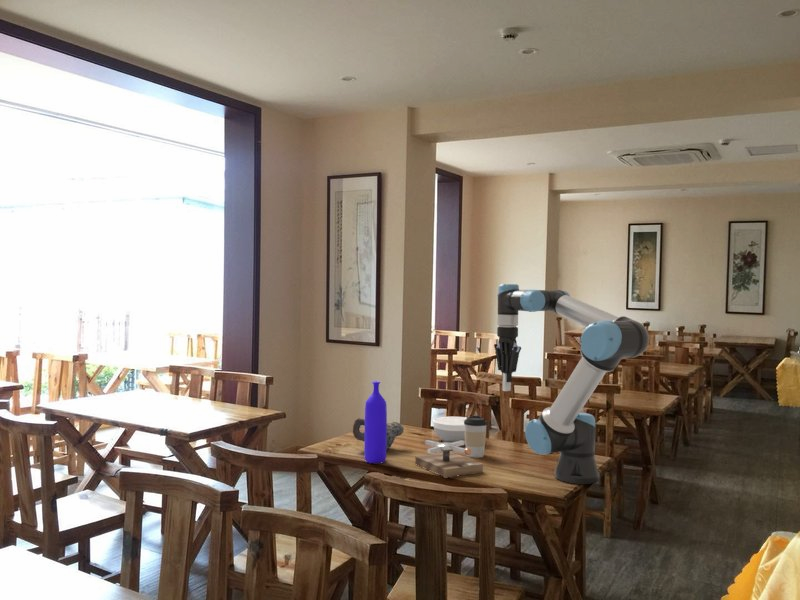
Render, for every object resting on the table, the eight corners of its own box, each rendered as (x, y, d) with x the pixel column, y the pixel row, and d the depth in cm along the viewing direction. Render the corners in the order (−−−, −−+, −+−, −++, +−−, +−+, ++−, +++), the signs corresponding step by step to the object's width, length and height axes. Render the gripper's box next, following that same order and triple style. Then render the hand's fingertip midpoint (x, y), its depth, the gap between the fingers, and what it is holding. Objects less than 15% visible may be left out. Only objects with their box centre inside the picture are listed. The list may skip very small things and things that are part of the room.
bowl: (424, 441, 289) (424, 421, 289) (447, 434, 304) (447, 414, 304) (463, 448, 278) (463, 427, 278) (484, 440, 294) (485, 419, 294)
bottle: (378, 465, 250) (379, 384, 250) (359, 461, 255) (360, 382, 254) (390, 460, 258) (391, 381, 257) (372, 457, 262) (373, 379, 261)
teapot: (399, 444, 284) (399, 408, 284) (408, 450, 273) (408, 413, 273) (349, 447, 277) (349, 410, 277) (356, 454, 266) (357, 415, 266)
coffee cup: (485, 458, 262) (486, 420, 261) (462, 457, 264) (462, 418, 263) (487, 453, 271) (487, 415, 270) (464, 451, 272) (465, 414, 272)
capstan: (486, 450, 246) (487, 444, 246) (453, 460, 232) (453, 453, 232) (442, 441, 261) (442, 435, 261) (408, 449, 246) (408, 443, 246)
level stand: (482, 472, 243) (483, 453, 243) (445, 478, 235) (445, 458, 235) (451, 459, 260) (451, 441, 260) (415, 464, 252) (415, 446, 252)
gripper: (527, 327, 244) (526, 392, 245) (504, 325, 256) (503, 387, 256) (511, 327, 240) (509, 394, 241) (488, 325, 252) (487, 388, 252)
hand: (506, 390), depth 249 cm, fingers closed
